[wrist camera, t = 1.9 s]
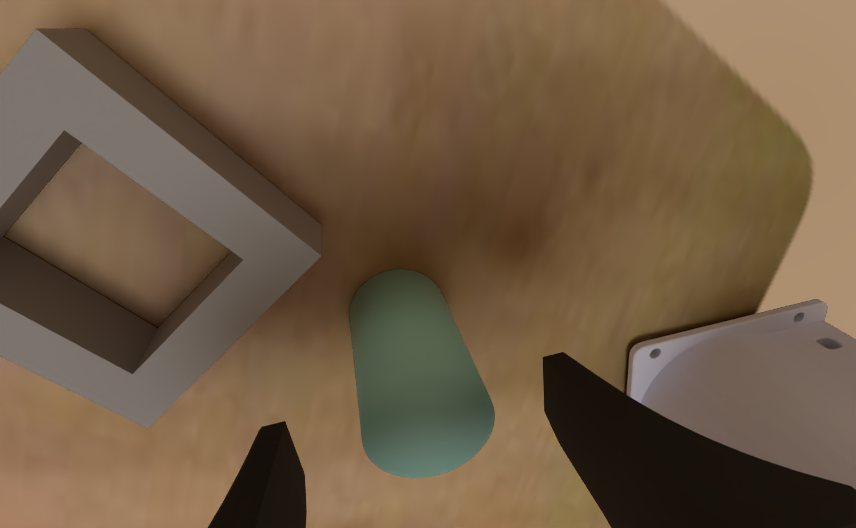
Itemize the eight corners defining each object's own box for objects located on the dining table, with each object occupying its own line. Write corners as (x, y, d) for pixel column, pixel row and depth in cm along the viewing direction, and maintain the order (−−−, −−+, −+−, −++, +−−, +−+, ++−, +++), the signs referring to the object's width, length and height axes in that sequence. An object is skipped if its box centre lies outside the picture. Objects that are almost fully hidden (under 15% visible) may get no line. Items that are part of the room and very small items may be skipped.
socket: (85, 28, 13) (35, 28, 10) (321, 224, 16) (321, 256, 14) (-82, 239, 14) (-157, 279, 12) (169, 378, 17) (147, 428, 15)
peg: (438, 260, 18) (489, 359, 12) (449, 340, 19) (499, 458, 14) (339, 281, 17) (348, 393, 12) (359, 361, 19) (375, 491, 14)
